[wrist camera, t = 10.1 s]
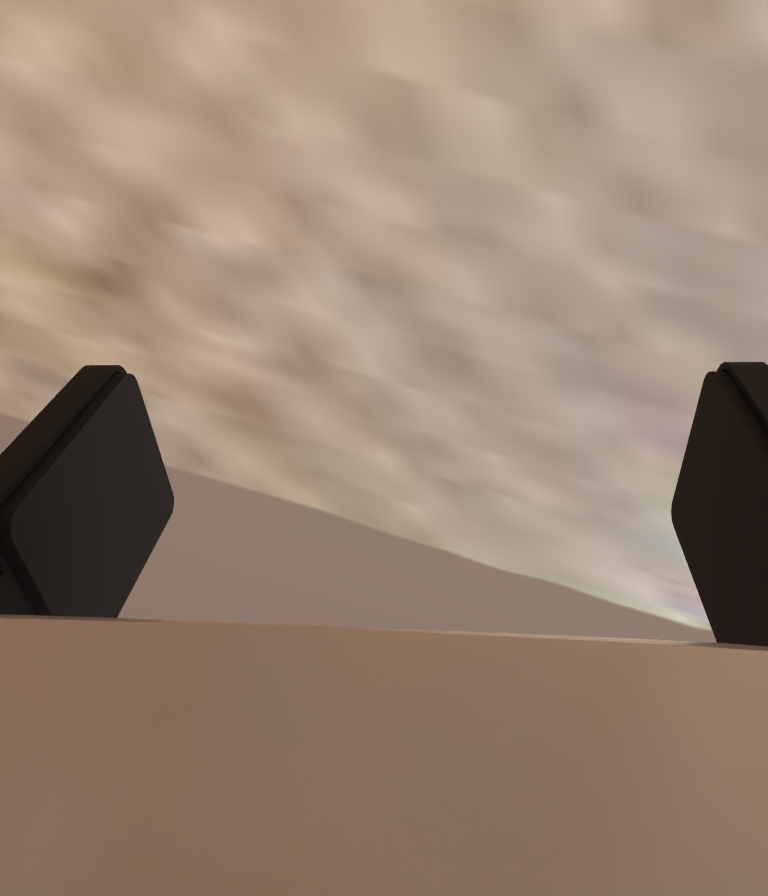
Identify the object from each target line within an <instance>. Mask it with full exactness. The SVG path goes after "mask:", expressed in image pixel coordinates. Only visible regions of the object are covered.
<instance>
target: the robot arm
mask: <svg viewBox="0 0 768 896" xmlns="http://www.w3.org/2000/svg"><path fill="white" fill-rule="evenodd" d="M173 507H174V496H173V492H172V489H171V486H170V482H169V479H168V476H167V473H166V470H165V467H164V464H163V460H162V457H161V454H160V451H159V448H158V445H157V442H156V438H155V435H154V432H153V429H152V426H151V423H150V420H149V416H148V413H147V410H146V407H145V404H144V401H143V398H142V395H141V391H140V388H139V385H138V382H137V380H136V378H135V377H134V375H132V374H127V372H126V371H125V369H124V368H123V367H121V366H119V365H89V366H84V367H83V368H81V370H80V371H79V372H78V373H77V374H76V375H75V376H74V377H73V378H72V379H71V380H70V381H69V382H68V383H67V384H66V385H65V387H64V388H63V389H62V390H61V391H60V392H59V393H58V394H57V395H56V396H55V397H54V398H53V399H52V400H51V401H50V402H49V404H48V405H47V406H46V407H45V408H44V409H43V410H42V411H41V412H40V413H39V414H38V415H37V416H36V417H35V418H34V419H33V421H32V422H31V423H30V424H29V425H28V426H27V427H26V428H25V429H24V430H23V431H22V432H21V433H20V435H18V437H17V438H16V439H15V440H14V441H13V442H12V443H11V444H10V445H9V446H8V447H7V448H6V449H5V451H3V452H2V453H1V455H0V896H768V365H767V364H766V363H764V362H724V363H722V364H721V365H720V366H719V368H718V370H717V372H708V373H707V374H706V376H705V379H704V381H703V385H702V389H701V393H700V397H699V401H698V405H697V409H696V412H695V416H694V420H693V424H692V428H691V432H690V436H689V439H688V443H687V447H686V451H685V455H684V459H683V463H682V467H681V470H680V474H679V478H678V482H677V486H676V490H675V494H674V498H673V501H672V509H671V515H672V522H673V526H674V529H675V531H676V534H677V537H678V539H679V542H680V545H681V547H682V550H683V553H684V556H685V558H686V561H687V564H688V566H689V569H690V572H691V574H692V577H693V580H694V582H695V585H696V588H697V590H698V593H699V596H700V598H701V601H702V604H703V606H704V609H705V612H706V614H707V617H708V620H709V622H710V625H711V628H712V630H713V633H714V636H715V638H716V641H717V643H710V642H687V641H686V642H685V641H668V640H667V641H666V640H648V639H628V638H607V637H583V636H561V635H540V634H518V633H496V632H495V633H494V632H473V631H450V630H427V629H426V630H425V629H424V630H423V629H401V628H378V627H353V626H326V625H302V624H275V623H250V622H249V623H248V622H221V621H189V620H161V619H133V618H132V619H131V618H117V617H118V615H119V613H120V611H121V609H122V607H123V605H124V603H125V602H126V599H127V598H128V596H129V594H130V592H131V590H132V588H133V586H134V584H135V582H136V581H137V579H138V577H139V575H140V573H141V571H142V569H143V567H144V566H145V564H146V562H147V560H148V558H149V556H150V554H151V552H152V550H153V548H154V547H155V545H156V543H157V541H158V539H159V537H160V535H161V533H162V532H163V530H164V528H165V526H166V524H167V522H168V520H169V518H170V516H171V514H172V512H173Z"/></svg>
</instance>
